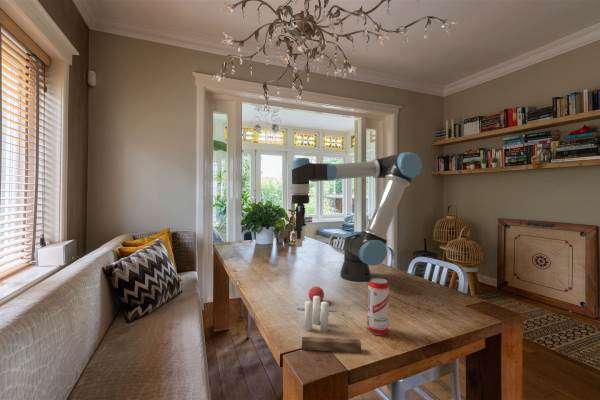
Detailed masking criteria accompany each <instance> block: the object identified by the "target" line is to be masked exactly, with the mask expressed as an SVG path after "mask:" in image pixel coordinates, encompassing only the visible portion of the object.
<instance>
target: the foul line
mask: <svg viewBox="0 0 600 400" xmlns="http://www.w3.org/2000/svg"><path fill="white" fill-rule="evenodd" d="M296 310H297V311H305V307H297V308H296ZM320 312H321V307H320ZM329 312H337V311H336V308H329Z"/></svg>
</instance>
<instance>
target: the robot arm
mask: <svg viewBox="0 0 600 400" xmlns="http://www.w3.org/2000/svg"><path fill="white" fill-rule="evenodd" d="M422 168H423V164H422V161H421V158H420V156H418V154H416V153H415V152H412V151H408V152H405V151H404V152H401V153H396V154H391V155H388V156H385V157H381V158H374V159H371V161H359V162H344V163H329V162H328V163H322V162H321V163H319V162H318V163H316V162H315V163H312V162H310V158H308V157H295V158H293V159H292V160H291V169H290V170H291V186H290V190H291V194H292V195H291V204H294V205H296V207H295V209H294V210H295V226H294V228H293V231H294V232H295V247H296V248H302V247H303V241H304V242H305V239H306V237H305V236H306V235H305V227H307V223H306V220H305V219H306V218H305V216H306V207H305V204H306V205H307V204H309V203H310V195H309V194H310V182H311V183H315V182H322V181H324V182H331V181H335V180H336V181H337V180H345V179H346V180H347V179H356V178H369V177H370V178H371V177H372V178H373V179H386V182H385V185H384V187H383V189H382V192H381V194H380V197H379V200H378V202H377V205H376V207H375V208H374V212H373V214H372V217H371V218H370V221H369V223H368V226H367V227H366V228H365V229H363V230H362V231H346V232H345V233H344V249H343V250H344V255H343V256H344V258H343V263H342V266H341V269H340V272H339V273H340V277H341V278H342V279H343V280H346V281H351V282H366V281H369V280H370V279H372V273H371V269H370V266H378V265H379V264H381V263H383V262H384V260H385V259H386V257H387V255H388V249H387V245H386V244H387V242H388V238H387V233H388V231H389V229H390V225H391V223H392V220H393V219H394V216H395V214H396V211H397V208H398V207H399V203H400V202H401V199H402V196H403V194H404V191H405V189H406V188H407V187H409V186H411V184H412V181H413V179H414V178H417V177H418V176H419V175H420V174H421V172H422Z"/></svg>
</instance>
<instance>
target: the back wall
mask: <svg viewBox="0 0 600 400" xmlns="http://www.w3.org/2000/svg"><path fill="white" fill-rule="evenodd" d="M301 350H302V351H321V352H322V351H324V352H344V353H362V342H361V339H359V338H335V337H311V336H302V338H301Z"/></svg>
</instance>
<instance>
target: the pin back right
mask: <svg viewBox="0 0 600 400" xmlns="http://www.w3.org/2000/svg"><path fill="white" fill-rule="evenodd" d="M329 305H330V303H329V302H328V301H320V308H321V311H320V332H323V333H325V332H328V331H329V316H330V315H329V312H330V311H329V309H330V307H329Z"/></svg>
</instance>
